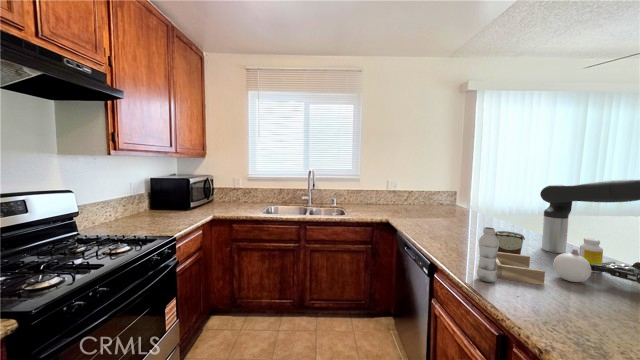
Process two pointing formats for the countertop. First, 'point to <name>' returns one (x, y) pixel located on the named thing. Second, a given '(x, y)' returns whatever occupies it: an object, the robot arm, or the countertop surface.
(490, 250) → the plastic bottle
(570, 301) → the countertop surface
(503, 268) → the bay
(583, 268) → the ornament
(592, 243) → the supplement bottle
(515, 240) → the food container
